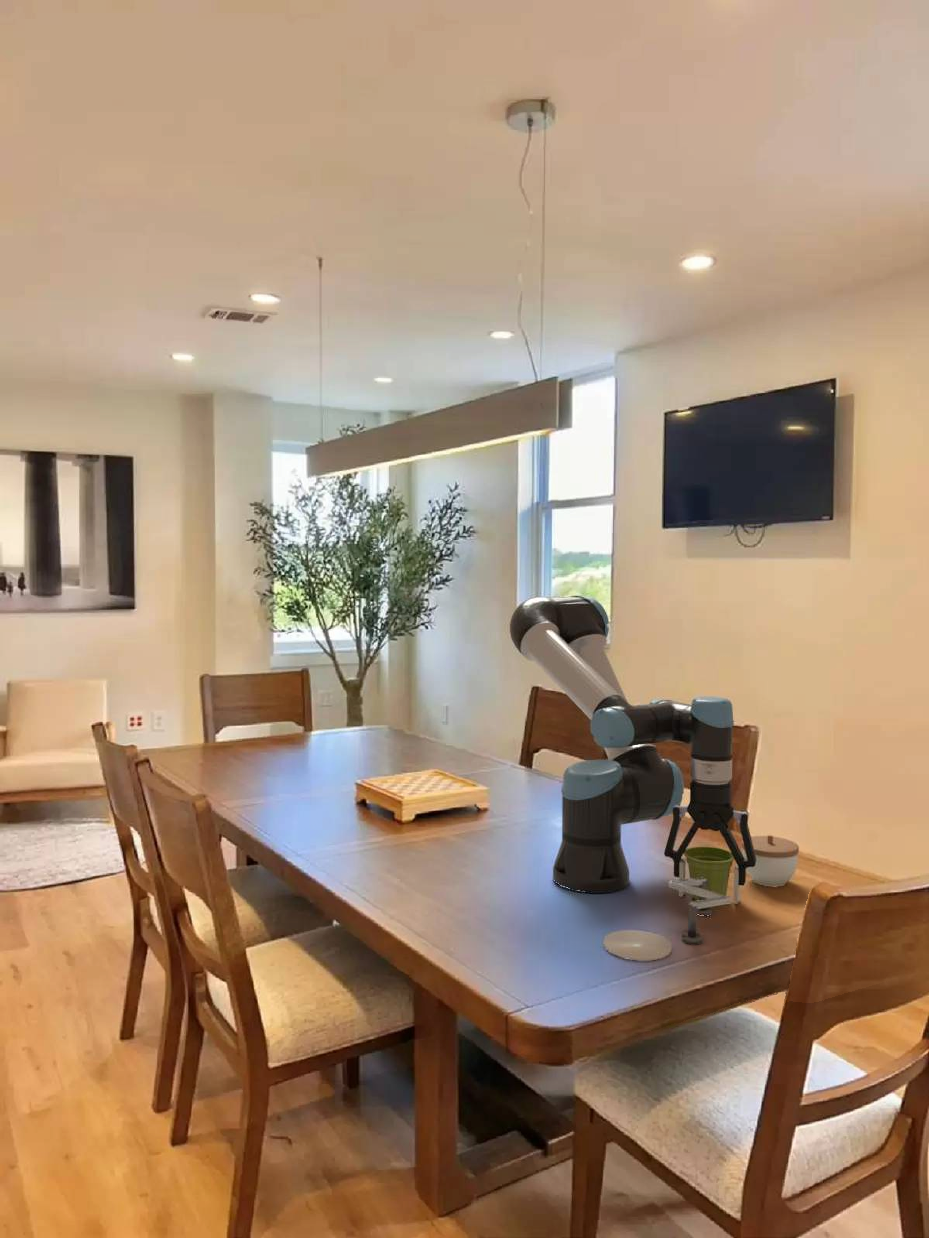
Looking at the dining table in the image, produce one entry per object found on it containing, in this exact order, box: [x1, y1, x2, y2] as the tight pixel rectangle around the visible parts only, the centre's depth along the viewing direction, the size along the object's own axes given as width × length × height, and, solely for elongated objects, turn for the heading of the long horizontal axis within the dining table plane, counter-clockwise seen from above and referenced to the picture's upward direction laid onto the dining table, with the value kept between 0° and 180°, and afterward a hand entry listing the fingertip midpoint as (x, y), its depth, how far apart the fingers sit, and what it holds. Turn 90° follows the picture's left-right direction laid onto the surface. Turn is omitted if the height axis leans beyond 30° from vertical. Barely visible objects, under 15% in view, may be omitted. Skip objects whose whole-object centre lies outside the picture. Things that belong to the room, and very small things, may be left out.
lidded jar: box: [741, 834, 800, 887], centre depth 181 cm, size 11×11×9 cm
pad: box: [603, 929, 672, 962], centre depth 150 cm, size 11×11×1 cm
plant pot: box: [683, 845, 735, 901], centre depth 172 cm, size 9×9×9 cm
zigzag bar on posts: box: [667, 877, 732, 945], centre depth 158 cm, size 11×16×7 cm
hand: (708, 897), depth 172 cm, fingers open, 9 cm apart
